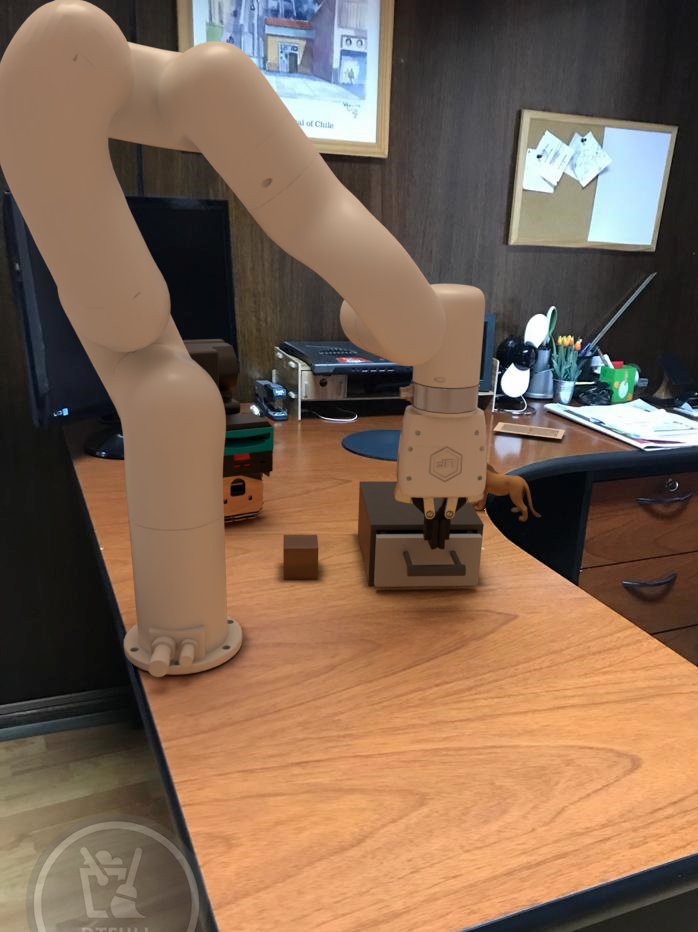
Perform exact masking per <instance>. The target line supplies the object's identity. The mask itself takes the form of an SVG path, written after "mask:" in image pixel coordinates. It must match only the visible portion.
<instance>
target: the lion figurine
mask: <svg viewBox="0 0 698 932" xmlns="http://www.w3.org/2000/svg"><path fill="white" fill-rule="evenodd" d="M488 494H491V495H493V496H494V495H495V496H498V497H501V496H506V495H509V497H510V499H511V501H512V503H513V505H515V507H512V508H511V509H510V512H512V513H515V514H516V513H519V512H521V514H522V515H519V516H518V520H519V522H527V520H528V518H529V516H528V507H529V510H530V513H532V515H533V516H534V517H536V518H541V517H542V515H541V514H540V513H538V512H537V511H535V508H534V507H533V503H532V502H533V501H532V496H531V490H530V488H529V485H528V483H527V482H526V480H525V479H524V478H523V477H522V476H519V475H508V474H503V473H499V472H497V471H496V470H495V468H494V466H492V465H491V464H490V463H489V462H487V464H486V484H485V489H484V491H483V495H484V497H483V499H482V500H479V501H476V502H477V503H476V505H474V506H473V508H474V509H475V511H481V510H483V509H484V507H485V505H486V503H487V498H488ZM525 495H526V499H527V504H528V507H527V505H525V503H524V496H525Z"/></svg>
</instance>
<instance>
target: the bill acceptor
mask: <svg viewBox="0 0 698 932" xmlns="http://www.w3.org/2000/svg"><path fill="white" fill-rule="evenodd" d="M182 341H183V343H184V345H185V347H186V349H187V351H188V353H189V355H190V357H191V359H193V360H194V361H195V362H196V363H197V364H199V365H200V366H201V367H202V368H203V369H204V370H205V371H206V372H207V373H208V374H209V375H210V376H211V378H212V379H213V381H214V382H215V384H216V385H217V387H218V389H219V391H220V394H221V397H222V400H223V403H224V408H225V415H226V434H225V445H224V456H223V509H224V523H230V522H233V521H235V522H236V521H243V520H247V519H248V520H249V519H256V517H257V516H256V514H257V515H258V514H259V513H261V512H262V510H263V509H264V504H265V503H264V483H263V482H264V479H263V478H264V476H267V477H268V478H270V475H271V473H272V472H273V471H274V464H273V463H274V446H275V445H274V441H275V438H274V437H275V427H274V426H273V425H272V423H270V422H269V421H268V420H266V419H265V418H263V417H260V416H258V415H257V414H255V413H254V412H241V403H240V401H238V400H236V399H234V398H233V390H234V389H236V387H237V384H238V381H239V363H238V359H237V355H236V352H235V350H234V347H233V345H231V344H229V343H228V342H225V340H224V339H222V338H211V339H210V338H209V339H206V338H205V339H184V340H183V339H182Z"/></svg>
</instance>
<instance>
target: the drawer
mask: <svg viewBox="0 0 698 932" xmlns="http://www.w3.org/2000/svg"><path fill="white" fill-rule="evenodd" d="M472 532H473V531H472V530H450V537H449V540H445V548H444V549H439V548H438V547H437V548H436V549H433V550H431V548H430V546H429V543H428V540H424V538H423V530H377V534H376V549H375V572H374V585H373V586H374V587H375V588H389V587H390V588H391V587H392V588H395V587H396V588H397V587H399V588H400V587H401V588H402V587H404V588H405V587H464V586H465V587H467V586H468V587H469V586H470V587H471V586H473V587H475V586H476V587H477V586H479V579H480V578H479V577H480V568H481V567H480V566H481V558H482V557H481V556H482V547H483V546H482V545H483V537H482V536H481V534H472Z"/></svg>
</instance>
